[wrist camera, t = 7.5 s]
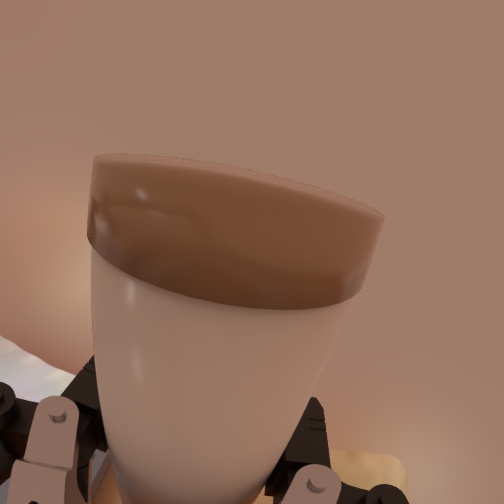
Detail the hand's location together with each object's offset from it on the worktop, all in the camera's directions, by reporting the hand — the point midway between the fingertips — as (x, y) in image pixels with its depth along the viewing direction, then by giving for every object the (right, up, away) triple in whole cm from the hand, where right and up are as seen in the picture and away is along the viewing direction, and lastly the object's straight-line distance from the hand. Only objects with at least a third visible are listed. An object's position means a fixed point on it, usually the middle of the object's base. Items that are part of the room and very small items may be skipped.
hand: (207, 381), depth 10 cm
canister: (-2, -7, 0) cm, 7 cm away
